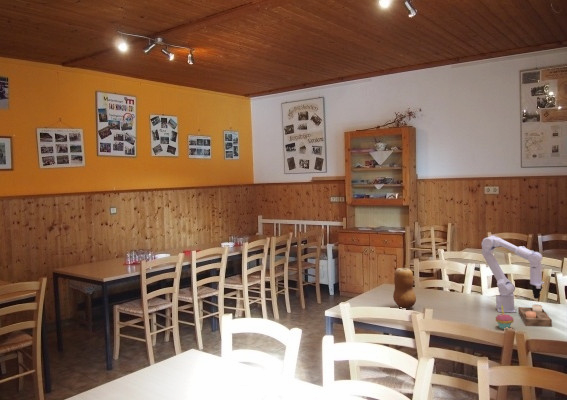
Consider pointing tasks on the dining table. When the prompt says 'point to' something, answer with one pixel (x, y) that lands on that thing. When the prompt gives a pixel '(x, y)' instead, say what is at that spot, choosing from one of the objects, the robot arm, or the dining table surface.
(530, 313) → the terracotta button
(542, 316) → the wooden compartment tray
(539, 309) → the cream button
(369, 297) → the dining table surface
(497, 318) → the cupcake
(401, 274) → the butternut squash
